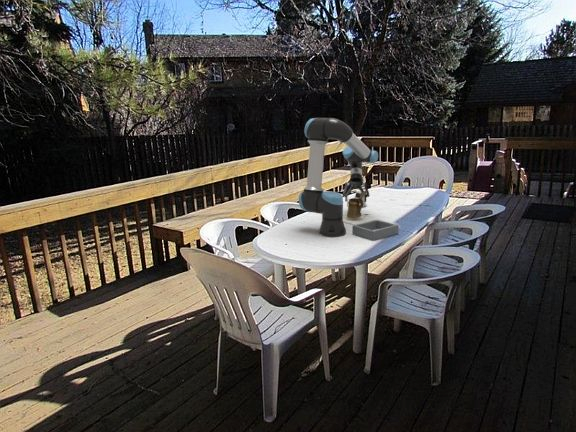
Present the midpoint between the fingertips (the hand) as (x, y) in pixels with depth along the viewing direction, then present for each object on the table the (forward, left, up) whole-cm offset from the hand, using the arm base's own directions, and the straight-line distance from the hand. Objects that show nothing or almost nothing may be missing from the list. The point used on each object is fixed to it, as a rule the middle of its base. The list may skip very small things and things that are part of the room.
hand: (355, 205), depth 266 cm
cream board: (+2, +2, -10) cm, 11 cm away
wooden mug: (+2, +1, -8) cm, 9 cm away
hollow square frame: (-11, -27, -10) cm, 31 cm away
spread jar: (+32, +30, -10) cm, 45 cm away
